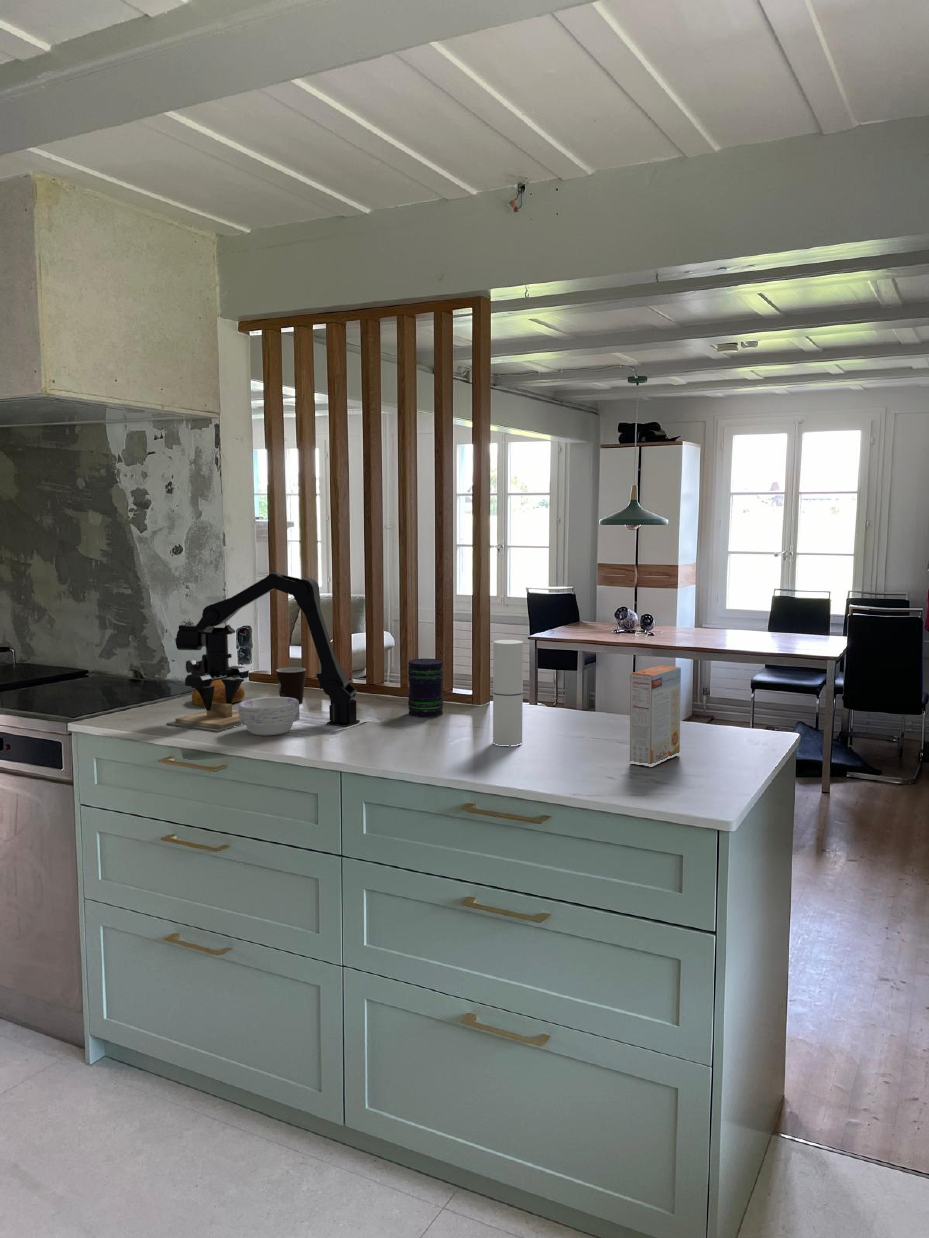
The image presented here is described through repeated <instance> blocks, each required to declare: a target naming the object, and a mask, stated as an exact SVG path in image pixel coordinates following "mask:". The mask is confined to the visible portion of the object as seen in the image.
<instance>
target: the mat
mask: <svg viewBox="0 0 929 1238" xmlns="http://www.w3.org/2000/svg"><path fill="white" fill-rule="evenodd" d="M165 725H167V726H172V727H178V726H182V727H181V728H185V727H188V728H187V729H192V728H193V730H199V729H202V730H201V731H206V732H214V733H221V732H223V730H224V731H227V730H226V729H228V730H231V729H233V728H232V727H234V726H238V727H240V726H239V725H241V723H240V724H237V725H233V726H230V727H226V728H222V729H219V728H212V727H205V726H198V725H191V724H184V723H177V722H176V720H174V721H169V722H166V724H165ZM230 728H231V729H230Z"/></svg>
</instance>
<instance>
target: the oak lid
mask: <svg viewBox="0 0 929 1238" xmlns="http://www.w3.org/2000/svg"><path fill="white" fill-rule="evenodd" d="M175 721H176V722H177V723H184V724H191V725H198V726H205V727H212V728H219V729H222V728H226V727H230V726H233V725H237V724H240V721H239V709H233V703H231V704H226V703H218V702H212V706H211V710H210V711H207V710H204V711H200V712H196V713H193V714H189V715H184V716H180V717H177V718H175Z"/></svg>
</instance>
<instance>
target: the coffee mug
mask: <svg viewBox="0 0 929 1238" xmlns="http://www.w3.org/2000/svg"><path fill="white" fill-rule="evenodd" d="M306 672H307V668H303V667H281V668H277V669H276V670H275V673H276V680H277V687H278V694H279V697H289V698H295V699H297V700H298V701H299V706H300V705H303V701H304V693H305V692H304V690H305V683H306V682H305V681H306Z"/></svg>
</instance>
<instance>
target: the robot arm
mask: <svg viewBox="0 0 929 1238" xmlns="http://www.w3.org/2000/svg"><path fill="white" fill-rule="evenodd" d="M274 590H278V591H280V592H283V593H285V594H288V595H291V596H293V598H294V600H295V602H296V604H297V605H298V607H299V609H300V610H301V611H302V613H303V614H304V616H305V618H306V619H305V620H306V622H307V624H308V628H309V632H310V635H311V638H312V641H313V644H314V647H315V651H316V654H317V657H318V660H319V663H320V671H318V672H317V673H316V679H317V680H318V682H319V689H320V690H323V692H324V694H325V695H326V696H328V697H329V700H330V704H329V705H328V706H329V711H328V712H329V720H328V721H327V723H326V724H327V725H332V726H333V725H335V726H340V727H341V726H342V727H349V726H352V725H355V724H358V723H360V722H361V720H360V719H357V700H356V699H355V698H356V695H357V692H358V691H357V689H356V687H354V686H353V685H352V684H351V683H350V682H349V678H348V675H347V674H346V672H345V670H344V667H342V665H341V664H340V662H339V661H338V659H337V658H336V657H337V656H336V654H335V651H334V648H333V645H332V642H331V639H330V635H329V633H328V629H327V626H326V623H325V620H324V616H323V614H322V611H321V595H320V594H321V592H320V587H319V583H318V582H317V581H316V580H314V579H313V578H311V577H304V578H297V577H294V576H289V575H284V574H281V573H279V572H272V573H270V574H268V575H267V576H266V577H264V578H262V579H261V580H259V581H257V582H255V583H253V584H251V585H250V586H248V587H247V588H245V589H243V590H242V591H240V592H238V593H236V594H235V595H233V596H231V597H228V598H226V599H222V600H220V601H217V602H215V603H212V604H209V605H207V606H205V607H204V608H203V609H202V614H201V615H202V616H201V618H200V619H199V620H198V622H197V624H196V625H193V624H191V625H188V624H180V625H179V626H178V630H177V632H176V637H175V647H176V649H177V651H201V650H202V649H203V647H205V654H202V656H201V660H199V661H196V660H195V659H189V660H186V661H185V671H186V673H188V675H186V677H185V678H184V686H185V687H191V688H192V689H194V690H195V689H196V690H197V691H198V692H199V694H200V696H201V698H202V701H203V703H204V705H205V707H204V708H205V711H210V710H211V706H212V700H213V694H214V687H215V686H211V683H212V681H215V680H219V679H221V680H222V682H223V683H224V685H225V695H226V704H233V703H232V701H233V699H234V697H235V694H236V692H237V690H238V688H239V687H240V686H241V685H242V683H243V682H244V681H245V679H247V678H250V673H249V672H250V671H249V669H248V667H247V666H241V665H240V666H239V665H231V666H229V659H231V658H232V653H229V640H228V638H229V637H228V636H229V635H232V634H235V633H236V630H235V629H234V628H233V627H232V626H231V625H230V624H226V625H225V626H224V627H216V626H220V625H223V624H225V623H226V622H228V621H230V620H231V618H232V617H234V616H235V615H236V614H237V613H238V612H239V611H240V610H241V609H242V608H244V607H246V606H248V605H249V604H251V603H253V602H254V601H257V600H258V599H260V598H261V597H263V596H265V595H267V594H269V593H270V592H272V591H274ZM210 628H212V630H207V629H210Z"/></svg>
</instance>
